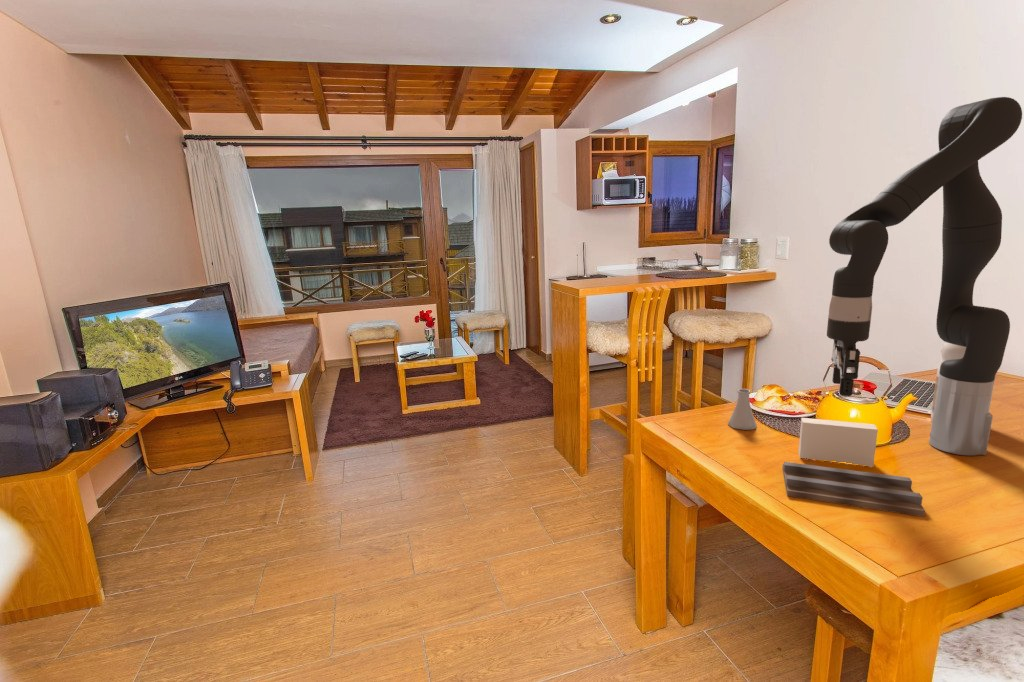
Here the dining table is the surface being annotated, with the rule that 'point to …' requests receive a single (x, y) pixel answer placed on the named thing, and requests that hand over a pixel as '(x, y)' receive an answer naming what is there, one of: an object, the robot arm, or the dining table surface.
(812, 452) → the panel
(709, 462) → the dining table surface
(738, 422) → the flask
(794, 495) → the track
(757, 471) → the dining table surface
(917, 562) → the dining table surface
